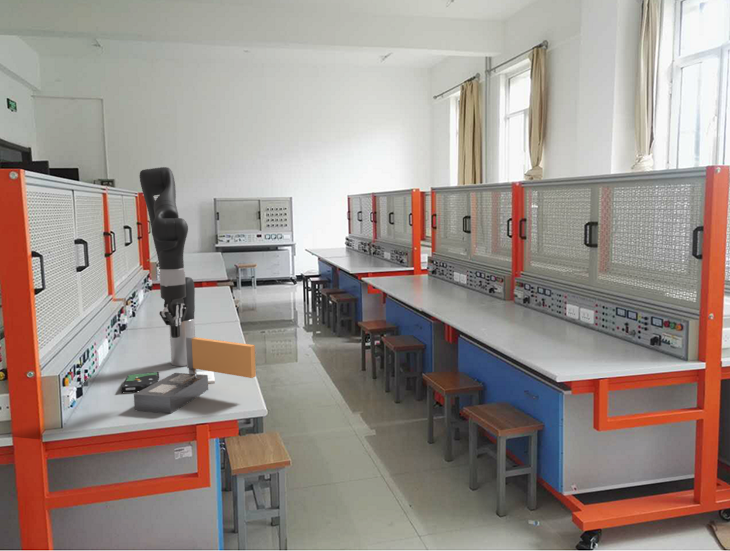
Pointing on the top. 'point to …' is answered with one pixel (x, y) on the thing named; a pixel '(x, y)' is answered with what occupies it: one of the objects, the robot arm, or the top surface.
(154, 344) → the top surface
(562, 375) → the top surface
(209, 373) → the external hard drive
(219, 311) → the top surface
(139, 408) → the grey flat block
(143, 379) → the disk drive
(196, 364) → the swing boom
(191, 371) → the boom post
